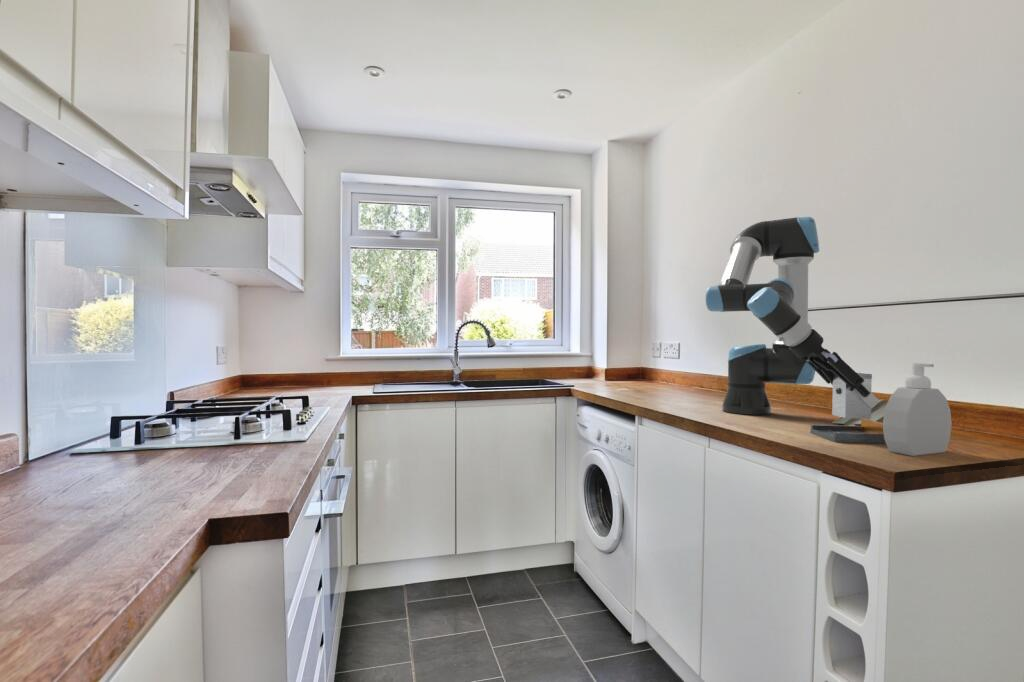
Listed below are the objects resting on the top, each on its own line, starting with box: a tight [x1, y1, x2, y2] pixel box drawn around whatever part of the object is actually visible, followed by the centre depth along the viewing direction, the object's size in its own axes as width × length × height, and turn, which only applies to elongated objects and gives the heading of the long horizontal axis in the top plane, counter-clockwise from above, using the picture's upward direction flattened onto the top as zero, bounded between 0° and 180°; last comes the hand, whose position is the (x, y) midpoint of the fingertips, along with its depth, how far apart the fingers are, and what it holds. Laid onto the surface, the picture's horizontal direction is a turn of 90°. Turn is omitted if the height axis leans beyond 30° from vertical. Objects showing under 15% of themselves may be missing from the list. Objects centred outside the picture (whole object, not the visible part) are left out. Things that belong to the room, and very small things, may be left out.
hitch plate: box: [810, 419, 887, 445], centre depth 127 cm, size 12×14×4 cm
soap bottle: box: [883, 362, 953, 457], centre depth 111 cm, size 16×5×20 cm, turn 111°
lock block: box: [831, 372, 873, 419], centre depth 127 cm, size 6×6×11 cm
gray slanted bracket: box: [831, 398, 888, 426], centre depth 144 cm, size 16×9×15 cm
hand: (866, 402), depth 126 cm, fingers closed on lock block, 6 cm apart
